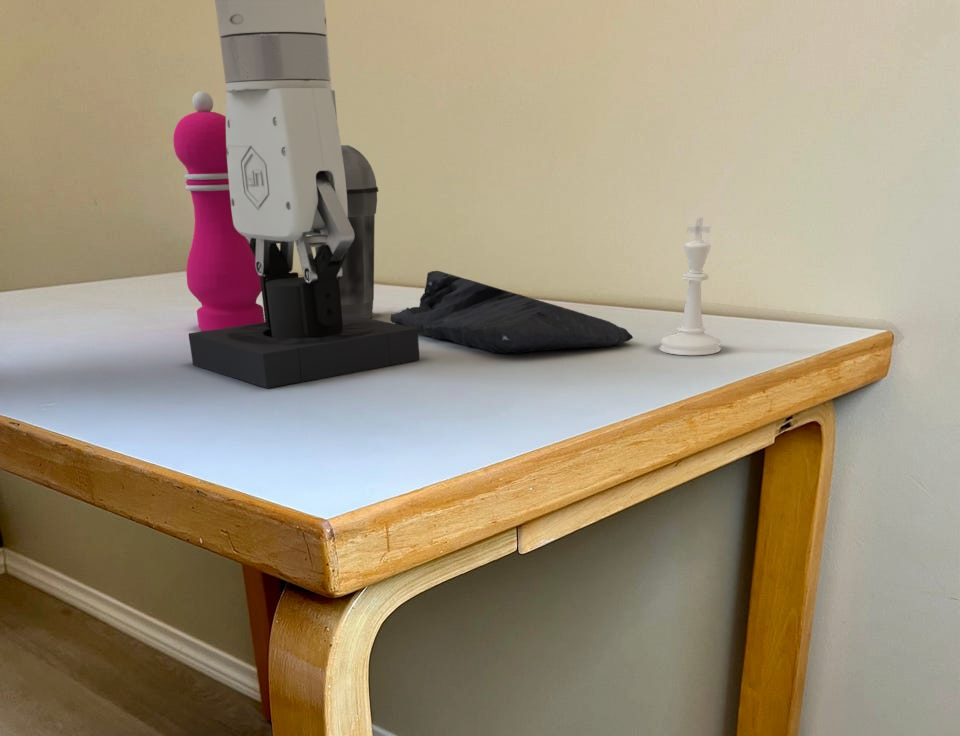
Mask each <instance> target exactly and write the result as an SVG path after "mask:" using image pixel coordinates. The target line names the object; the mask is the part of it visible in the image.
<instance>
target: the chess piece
mask: <svg viewBox="0 0 960 736" xmlns="http://www.w3.org/2000/svg"><path fill="white" fill-rule="evenodd" d="M703 221H704V217H703V216H700V217H699V216H697V217H695V225H688V226H687V227H686V229H687V230H686V233H694V240H691V241H689V242H686V243H685V244H684V252H685V254H686V256H685V257H686V260H687V265H688V269H689V270H688V272H687V273H683V274H682V276H681V280H684V281H687V282H688V286H687V292H686V298H685V305H684V310H683V316H682V320H681V324H680V326H679V327H677V328H676V330H677V331H678V332H676V333H672V334H669V335H667V336H665V337H663V338H662V339H661V340H660V344H661V345H660V346H659V350H660V351H661V352H663V353H666V354H671V355H679V356H705V355H706V356H707V355H712V354H716V353H719V352H720V351H721V350H722V348H721V346H720V345H721V340H720V339H719V338H718V337H716V336H714V335H711V334H709V333H705V331H706V330H707V328H706V327H704V326H703V314H702V313H703V311H702V281H707V280H709V279H710V277H709V274H708V273H704V270H703V268H704V266H705V263H706V260H707V257H708V255H709V253H710V250H711V247H712V246H711V244H710V243H709V242H707V241H704V240H702V233H703V234H704V233H705V234H707V233H710V232H711V226H710V225H703Z"/></svg>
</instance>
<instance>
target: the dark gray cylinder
mask: <svg viewBox="0 0 960 736" xmlns="http://www.w3.org/2000/svg"><path fill="white" fill-rule="evenodd" d="M302 282H306V281H305V279H304V276H298V277H293V278H283V279H276V280H271V281H268V282H266V289H267V297H268V306H269V314H270V323H271V331H272V336H273V337H277V338H308V337H307V336H306V335H305V332H304V323H303V313H302V304H301V294H300V284H299V283H302Z"/></svg>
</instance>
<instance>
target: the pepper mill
mask: <svg viewBox="0 0 960 736" xmlns="http://www.w3.org/2000/svg"><path fill="white" fill-rule="evenodd" d="M191 102H192V106H193V108H194V110H195V112H192V113H190V114H187V115H185V116H183V117H182V118H181V119H180V120H179V121H178V122H177V124H176V126H175V128H174V131H173V139H172V141H173V149H174V154H175V156H176V158H177V159H178V160H179V161H180V162H181V163H182V165H183V166H184V167H185V169H186V171H187V173H185V174H184V175H183V179H184V180H185V184H186V185H185V190H186V191H188V192H190V195H191V200H192V205H193V212H194V215H193V216H194V227H193V228H194V230H193V237H192V242H191V246H190V249H189V253H188V257H187V261H186V262H187V263H186V270H185V274H186V286H187V288H188V291H189V292H190V293H191V294H192V295H193V296H194V297H195V298H196V300H198V301H199V303H200V304H201V306H200V307H199V308H198V309H196V317H197V325H198V328H199V331H209V330H216V329H222V328H229V327H236V326H243V325H250V324H257V323H264V322H265V315H264V307H263V305H261V304H259V303H257V300H258V298H259V296H260V294H262V290H261V282H260V275H258V273H257V271H256V266H255V261H256V258H255V256H254V254H253V252H252V251H251V249H250V246H249V242H248V240H247V239H246V237H245V236H243V235H241V234H240V233H239V232H238V231H237V230H236V229H235V227H234V224H233V218H232V210H231V200H230V190H229V178H228V165H227V149H226V115H223V114H222V113H218V112H215V111H212V110H213V108H214V99H213V98H212V96H211V95H210V94H209V93H208V92H206V91H202V90H201V91H196V93H194V95H193V96H192V101H191ZM262 276H264V275H262Z"/></svg>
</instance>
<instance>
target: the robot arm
mask: <svg viewBox="0 0 960 736" xmlns="http://www.w3.org/2000/svg"><path fill="white" fill-rule="evenodd" d="M214 3H215V11H216V19H217V26H218V27H217V28H218V35H219V38H220V40H219V41H220V48H221V57H222V66H223V74H224V81H225V90H226V101H225V116H226V149H227V165H228V178H229V190H230V200H231V210H232V218H233V224H234V227H235V229H236V230H237V231H238V232H239V233H240V234H241V235H243V236H245V237H246V239H247V240H248V242H249V246H250V249H251V251H252V252H253V254H254V256H255V258H256V261H255V266H256V271H257V273H258V275H260V282H261V290H262V291H261V297H262V307H263V312H264V321H265V324H266V326H267V327H268V328H271V323H270V314H269V306H268V297H267V289H266V282H268V281H271V280H276V279H283V278H293V277H299V272H297V271H296V272H295V271H294V272H293V267H294V250H295V249H294V248H295V247H296V251H297V255H298V259H299V263H300V267H301V270H302V271H301V272H302V275H303V277H304V279H305V281H306V282H302V283H299V284H300V294H301V304H302V313H303V323H304V332H305V335H306V336H307V337H311V338H314V337H320V336H326V335H332V334H338V333H341V332H342V330H343V322H342V310H341V299H340V287H339V280H340V279H341V278H342V275H343V271H342V267H341V266H342V264H343V262H344V260H345V257H346V252H347V251H348V249H349V247H350V246H351V244H352V242H353V240H354V237H355V234H354V230H353V228H352V226H351V224H350V222H349V220H348V209H347V191H346V181H345V171H344V164H343V156H342V149H341V145H342V141H341V137H340V136H341V135H340V130H339V123H338V117H337V118H336V113H337V112H336V113H335V108H334V103H333V99H332V95H331V90H333V87H332V77H331V76H332V75H331V64H330V62H331V61H330V52H329V51H330V49H329V39H328V28H327V27H328V25H327V16H326V15H327V14H326V4H325V0H214ZM277 244H279V247H278V245H277ZM315 247H319V249H318V252H317V254H316V253H315V256H314V252H313V250H312V249H313V248H315ZM262 275H264V276H262Z"/></svg>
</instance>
